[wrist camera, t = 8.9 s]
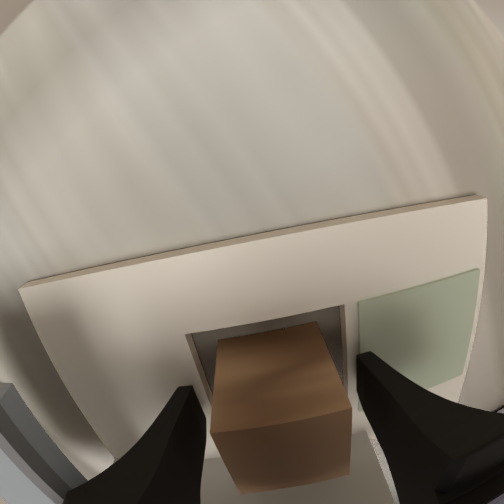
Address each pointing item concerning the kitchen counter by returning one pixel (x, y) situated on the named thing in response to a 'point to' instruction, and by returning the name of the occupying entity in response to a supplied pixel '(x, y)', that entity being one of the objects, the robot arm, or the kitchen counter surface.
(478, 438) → the robot arm
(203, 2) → the kitchen counter surface
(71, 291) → the puzzle board
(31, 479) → the cover
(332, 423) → the block
